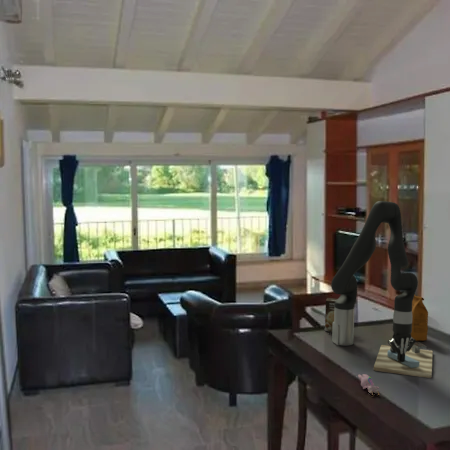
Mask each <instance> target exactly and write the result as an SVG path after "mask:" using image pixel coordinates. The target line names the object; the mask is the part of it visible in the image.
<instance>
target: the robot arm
mask: <svg viewBox="0 0 450 450" xmlns="http://www.w3.org/2000/svg"><path fill="white" fill-rule="evenodd" d="M401 213H402V212H401V208H400V206H399V205H398V204H397V203H396V202H394V201H386V200H378V201H376V202H375V203H374V204H373V206H372V207H371V209H370V211H369V214H368V216H367V218H366V220H365V222H364V225H363V227H362V229H361V231H360V232H359V235H358V236H357V239H355V241H354V243H353V245H352V247H351V249H350V251H349V253H348V255H347V256H346V258H345V260H344V261H343V263H342V265H341V266H340V268H339V269H338V271H337V272H336V274H335V275H334V276H333V278H332V280H331V285H330V286H331V290H332V292H333V293H334V294H336V295H340V296H339V297H338V298H336V299H337V300H336V301H335V310H334V322H333V323H332V332H331V334H332V336H331V338H332V339H331V342H332V343H334V344H335V345H336V346H352V345H353V344H354V340H355V339H354V336H355V335H354V334H355V333H354V332H355V330H354V329H355V305H356V302H357V299H358V298H357V296H358V282H357V281H358V280H357V278H356V276H355V274H356V272H357V271H359V270H360V269H361V268H362V267H363V266H365V265H366V264H367V263H368V262H369V260H370V259H371V257H372V256H373V254H374V252H375V250H376V247H377V242H376V241H377V240H376V233H377V231H378V228H379V227H380V225H381V224H383V223H385V224H388V226H389V229H390V235H389V236H390V237H389V241H388V243H387V254H388V259H389V262H390V285H391V287H392V288H393V289H394V290H395V291H403V292H402V293H401V294H399V295H396V296H395V298H394V300H393V301H394V304H393V305H394V306H393V307H394V309H393V314H392V315H393V316H392V332H393V335H392V338H391V340H387V344H388V346H391V348H392V349H393V351H395V352H397V360H398V361H399V362H404V361H405V353H406V352H407V351H408V352H409V351H410V349H411V348H412V346H413V345H414V343H415V342H417V341H416V340H415V339H413V338H412V337H411V333H412V301H413V298H414V295H415V296H416V293H417V288H418V286H419V285H418V283H419V281H418V277H417V275H416V274H415V273H413V272H402V271H401V270H402V269H406V268H407V267H408V266H409V259H408V256H407V252H406V248H405V244H404V236H403V224H402V214H401Z"/></svg>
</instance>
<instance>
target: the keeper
mask: <svg viewBox="0 0 450 450" xmlns="http://www.w3.org/2000/svg"><path fill="white" fill-rule="evenodd" d="M420 349H421V350H425V349H427V345H425V344H423V343H422V342H420V341H415V343H414V345H413V346H412V352H414V353H420Z"/></svg>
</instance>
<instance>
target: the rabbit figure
mask: <svg viewBox="0 0 450 450" xmlns="http://www.w3.org/2000/svg"><path fill="white" fill-rule="evenodd" d="M357 376H358V379H359V380H360V386H361V387H362V389H363V390H365V389H366V388H367V389H366V390H367V391H368V392H369V393H372V395H373V396H374V394H373V392H374V393H378V394H377V396H378V395H380V392H379V390H378V389H380V387H379V386H375V383H374V382H373V380H372V379H373V378H372V377H371V376H369V375H368V374H363V373H362V375H361V374H358V375H357ZM369 393H368V394H369Z"/></svg>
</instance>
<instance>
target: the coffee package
mask: <svg viewBox="0 0 450 450" xmlns="http://www.w3.org/2000/svg"><path fill="white" fill-rule="evenodd" d="M423 301H425V298H424V297H422V296H417V295H416V294H415V295H414V298H413V301H412V333H411V337H412V338H413V339H415V340H416V341H415V342H420V341H421V342H423V341H427V340H428V330H429V327H428V324H429V312H428V309H427V307H426V306H425V303H424V302H423Z"/></svg>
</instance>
